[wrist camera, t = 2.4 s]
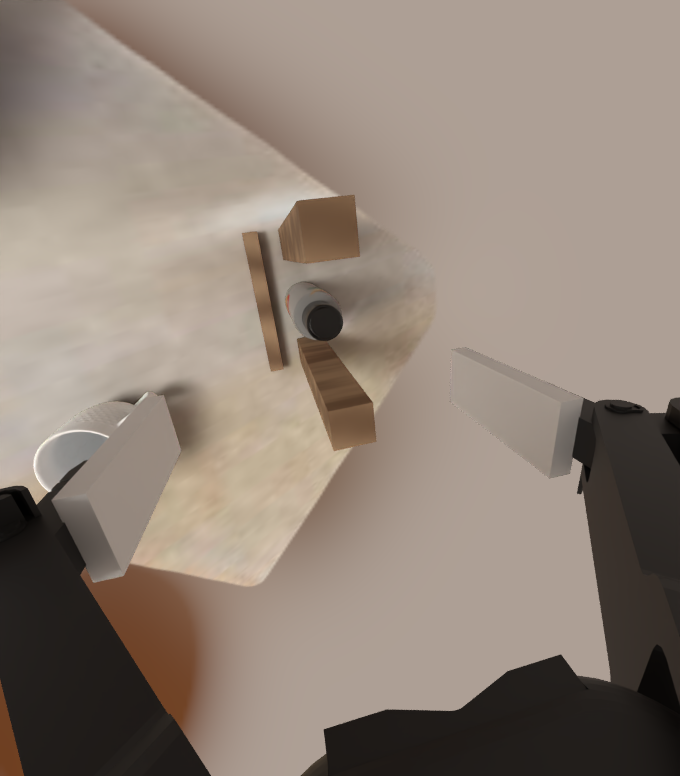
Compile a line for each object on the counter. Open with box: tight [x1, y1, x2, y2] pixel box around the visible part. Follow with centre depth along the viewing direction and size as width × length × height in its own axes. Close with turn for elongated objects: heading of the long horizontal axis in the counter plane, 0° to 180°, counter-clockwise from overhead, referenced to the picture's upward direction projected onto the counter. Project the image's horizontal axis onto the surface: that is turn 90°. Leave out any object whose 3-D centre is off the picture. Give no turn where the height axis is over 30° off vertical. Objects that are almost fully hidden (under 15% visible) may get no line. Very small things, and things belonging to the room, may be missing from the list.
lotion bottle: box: [285, 282, 343, 341], centre depth 43 cm, size 6×6×20 cm
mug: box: [34, 391, 157, 492], centre depth 47 cm, size 15×11×13 cm
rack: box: [242, 195, 376, 451], centre depth 39 cm, size 20×9×28 cm, turn 7°
